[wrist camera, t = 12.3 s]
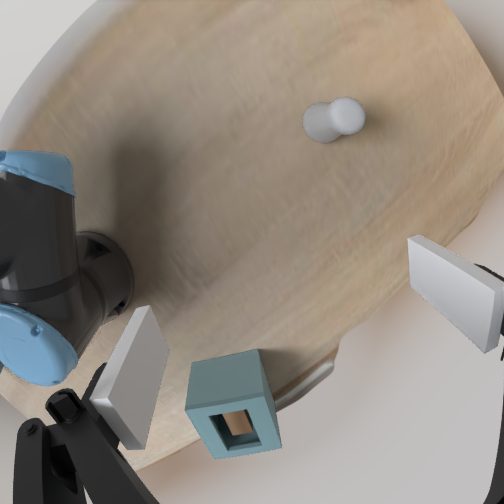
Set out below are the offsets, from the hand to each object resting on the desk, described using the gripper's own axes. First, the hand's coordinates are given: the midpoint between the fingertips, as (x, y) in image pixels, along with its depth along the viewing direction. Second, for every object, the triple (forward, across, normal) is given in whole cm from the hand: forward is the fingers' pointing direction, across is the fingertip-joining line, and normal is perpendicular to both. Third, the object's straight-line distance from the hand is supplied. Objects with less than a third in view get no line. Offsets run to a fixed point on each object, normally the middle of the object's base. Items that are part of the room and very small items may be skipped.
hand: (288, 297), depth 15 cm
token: (+31, -11, -32) cm, 46 cm away
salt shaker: (+32, +12, +8) cm, 35 cm away
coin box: (+32, -11, -32) cm, 46 cm away
